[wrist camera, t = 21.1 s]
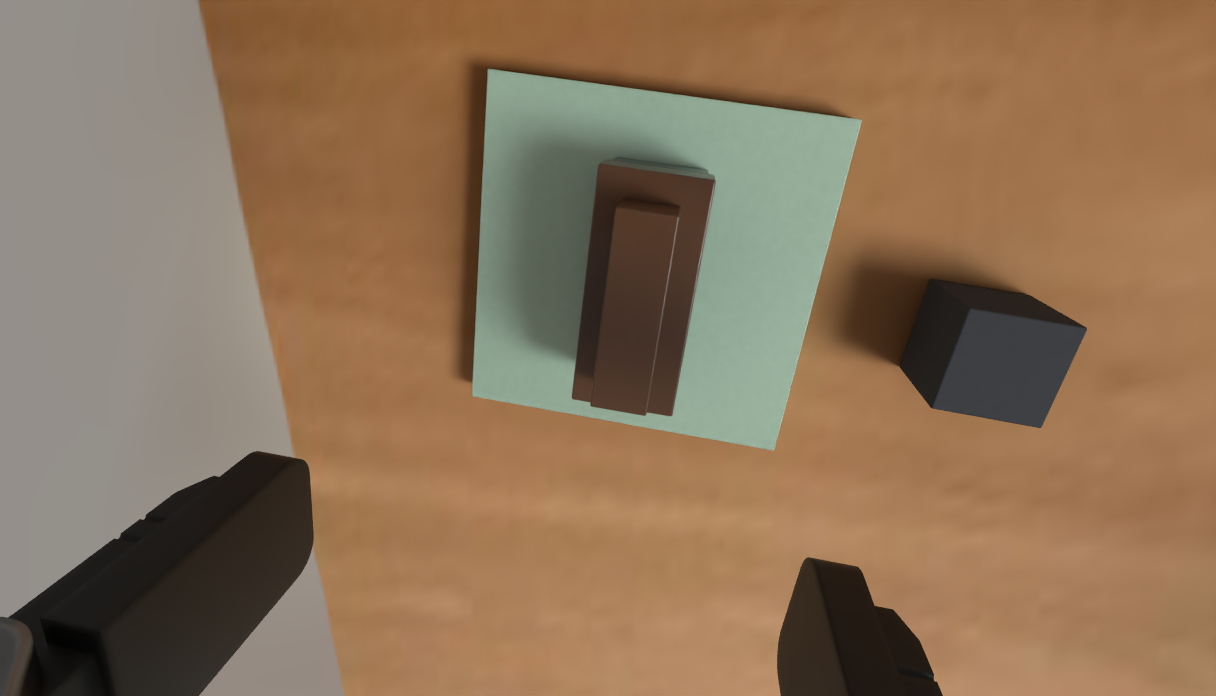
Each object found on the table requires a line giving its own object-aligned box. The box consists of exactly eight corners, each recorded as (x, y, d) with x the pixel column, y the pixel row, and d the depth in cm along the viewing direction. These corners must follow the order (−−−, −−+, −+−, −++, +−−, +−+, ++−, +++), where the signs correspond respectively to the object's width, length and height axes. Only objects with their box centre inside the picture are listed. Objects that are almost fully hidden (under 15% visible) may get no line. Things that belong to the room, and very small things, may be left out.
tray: (479, 385, 30) (471, 396, 29) (496, 70, 25) (487, 68, 23) (771, 437, 29) (774, 450, 28) (854, 118, 23) (862, 119, 22)
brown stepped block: (611, 155, 24) (587, 169, 19) (714, 170, 24) (718, 188, 18) (585, 366, 27) (559, 426, 22) (675, 381, 27) (669, 446, 22)
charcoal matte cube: (930, 409, 23) (1041, 429, 23) (969, 307, 21) (1088, 328, 21) (898, 367, 27) (993, 384, 26) (929, 278, 25) (1031, 295, 25)
